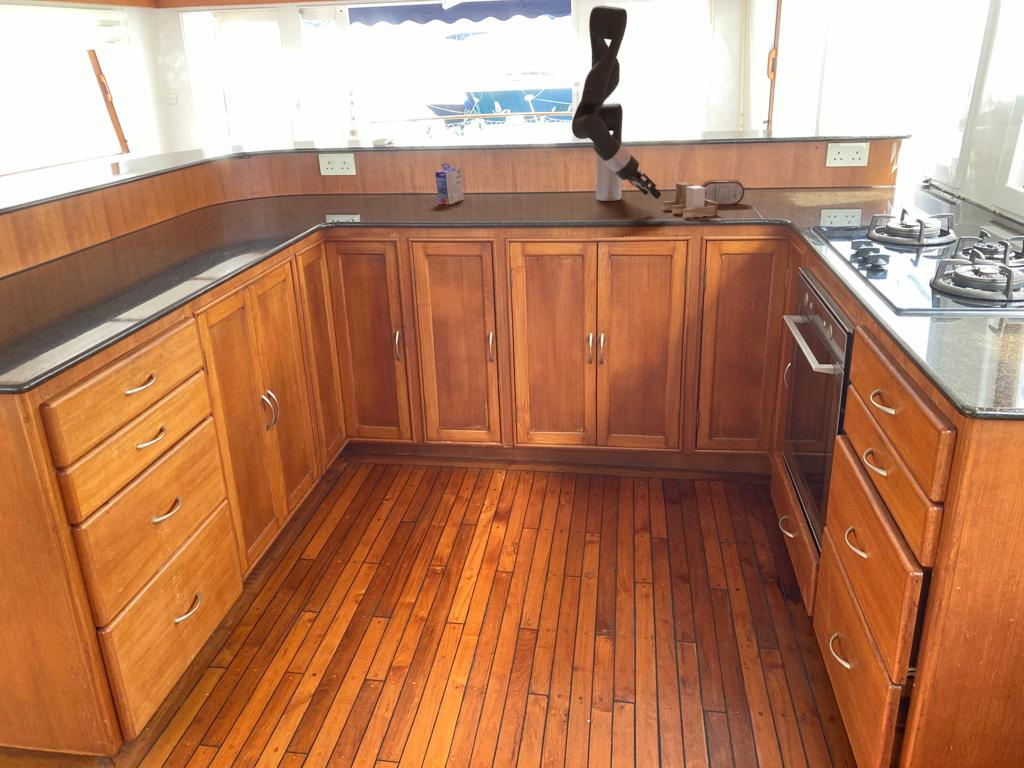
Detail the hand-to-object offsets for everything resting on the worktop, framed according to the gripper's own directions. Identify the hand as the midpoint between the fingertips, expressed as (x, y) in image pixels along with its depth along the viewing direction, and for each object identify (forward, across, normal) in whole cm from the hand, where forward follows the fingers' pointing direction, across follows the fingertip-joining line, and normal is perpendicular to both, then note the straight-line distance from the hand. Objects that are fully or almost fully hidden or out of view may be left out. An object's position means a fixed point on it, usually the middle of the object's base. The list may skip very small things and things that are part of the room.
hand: (653, 194), depth 262 cm
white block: (+13, -7, -3) cm, 15 cm away
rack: (+13, -4, -3) cm, 14 cm away
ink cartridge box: (-34, +59, +44) cm, 81 cm away
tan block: (+13, 0, -4) cm, 13 cm away
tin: (+24, +4, -15) cm, 28 cm away
